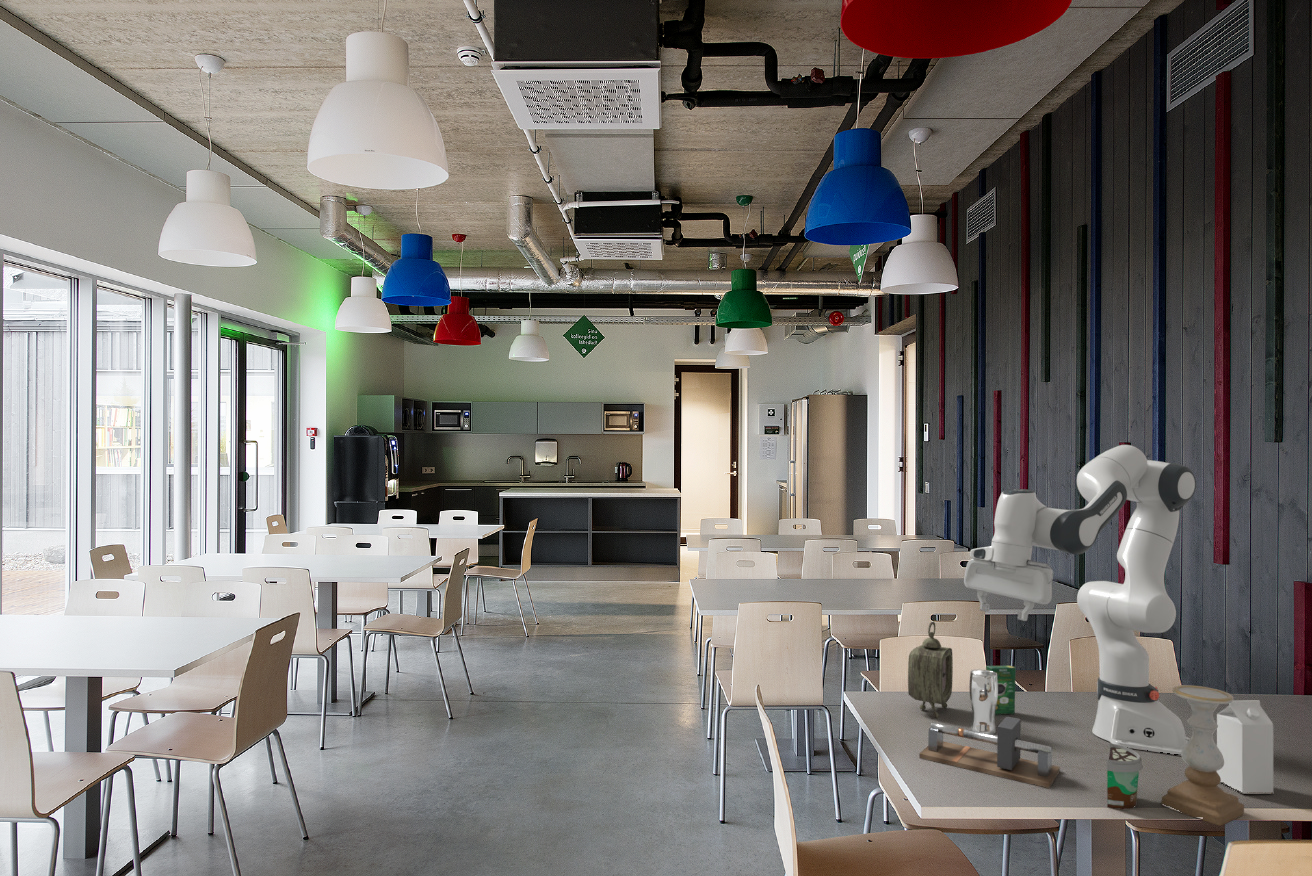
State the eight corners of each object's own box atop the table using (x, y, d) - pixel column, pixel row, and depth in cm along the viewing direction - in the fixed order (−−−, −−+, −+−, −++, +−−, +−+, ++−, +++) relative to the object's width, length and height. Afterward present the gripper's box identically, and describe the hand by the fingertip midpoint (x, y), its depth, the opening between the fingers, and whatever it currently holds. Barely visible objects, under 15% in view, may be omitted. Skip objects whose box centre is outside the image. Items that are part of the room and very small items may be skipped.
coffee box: (1009, 711, 226) (1009, 664, 226) (1016, 714, 223) (1016, 666, 224) (984, 712, 224) (984, 665, 225) (990, 715, 222) (990, 668, 222)
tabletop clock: (940, 721, 216) (941, 628, 216) (906, 715, 221) (907, 624, 221) (952, 707, 228) (953, 619, 229) (919, 702, 233) (920, 615, 233)
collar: (1020, 758, 186) (1020, 719, 186) (1011, 770, 179) (1011, 729, 179) (1006, 755, 188) (1006, 716, 188) (997, 767, 180) (997, 726, 181)
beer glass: (1000, 736, 205) (1000, 677, 205) (971, 733, 207) (972, 675, 207) (994, 727, 212) (995, 670, 212) (966, 725, 213) (967, 668, 214)
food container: (1142, 817, 159) (1142, 767, 159) (1106, 810, 162) (1107, 760, 163) (1143, 796, 170) (1143, 748, 170) (1109, 789, 173) (1110, 742, 173)
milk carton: (1216, 782, 178) (1216, 695, 178) (1246, 781, 178) (1246, 695, 179) (1242, 795, 171) (1242, 705, 171) (1273, 795, 171) (1273, 705, 172)
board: (1059, 771, 182) (1059, 766, 182) (1049, 788, 173) (1049, 783, 173) (934, 743, 199) (935, 739, 199) (919, 757, 189) (919, 753, 189)
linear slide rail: (1051, 770, 180) (1052, 743, 180) (1047, 777, 176) (1047, 750, 176) (934, 744, 195) (934, 719, 196) (928, 750, 191) (928, 725, 192)
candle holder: (1186, 794, 171) (1186, 681, 171) (1245, 814, 162) (1245, 695, 162) (1160, 805, 165) (1160, 688, 165) (1220, 827, 156) (1220, 703, 156)
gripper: (1061, 565, 182) (1053, 626, 181) (978, 550, 198) (971, 606, 198) (1046, 563, 178) (1039, 625, 178) (964, 549, 195) (956, 605, 194)
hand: (1002, 615), depth 188 cm, fingers open, 8 cm apart
